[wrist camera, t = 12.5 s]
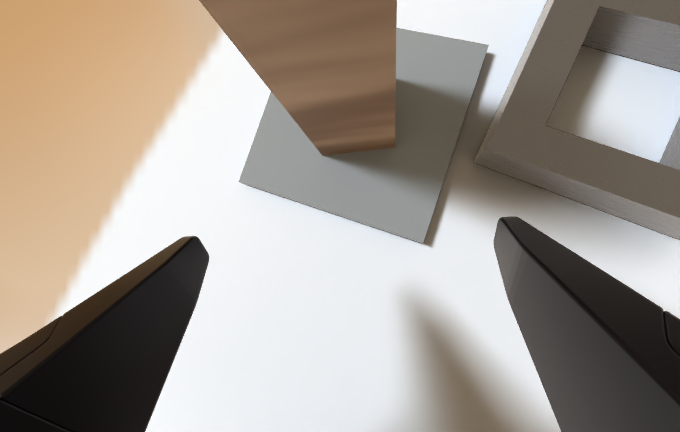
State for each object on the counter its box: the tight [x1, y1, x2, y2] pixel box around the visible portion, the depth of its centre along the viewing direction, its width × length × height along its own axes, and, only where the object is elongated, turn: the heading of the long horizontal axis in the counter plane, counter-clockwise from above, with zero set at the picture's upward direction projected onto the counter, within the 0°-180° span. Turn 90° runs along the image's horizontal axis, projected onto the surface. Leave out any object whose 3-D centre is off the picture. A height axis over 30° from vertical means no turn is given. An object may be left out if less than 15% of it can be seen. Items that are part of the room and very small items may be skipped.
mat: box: [239, 28, 489, 243], centre depth 18 cm, size 12×12×1 cm
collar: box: [474, 0, 680, 239], centre depth 15 cm, size 10×10×2 cm
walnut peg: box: [199, 0, 397, 155], centre depth 11 cm, size 4×4×13 cm
